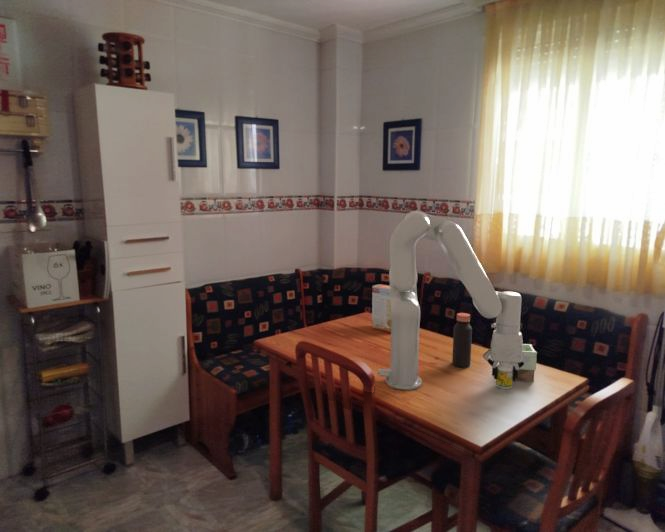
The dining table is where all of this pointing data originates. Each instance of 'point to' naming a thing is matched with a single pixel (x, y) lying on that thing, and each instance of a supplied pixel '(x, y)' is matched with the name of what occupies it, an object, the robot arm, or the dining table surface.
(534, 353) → the small green shelf
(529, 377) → the block lower
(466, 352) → the vinegar
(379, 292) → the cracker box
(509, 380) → the supplement bottle
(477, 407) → the dining table surface
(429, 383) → the dining table surface
